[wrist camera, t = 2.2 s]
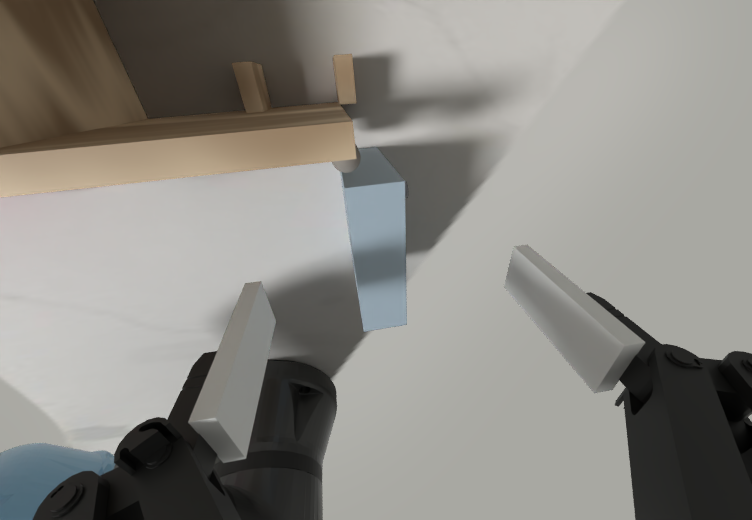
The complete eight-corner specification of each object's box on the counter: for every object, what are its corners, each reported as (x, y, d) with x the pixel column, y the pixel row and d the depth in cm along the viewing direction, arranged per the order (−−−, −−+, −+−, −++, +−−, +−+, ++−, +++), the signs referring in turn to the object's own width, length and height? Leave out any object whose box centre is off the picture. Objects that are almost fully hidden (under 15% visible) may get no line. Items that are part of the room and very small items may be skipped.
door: (391, 255, 27) (417, 322, 19) (352, 261, 26) (363, 331, 19) (386, 145, 21) (420, 179, 14) (337, 151, 21) (344, 188, 13)
